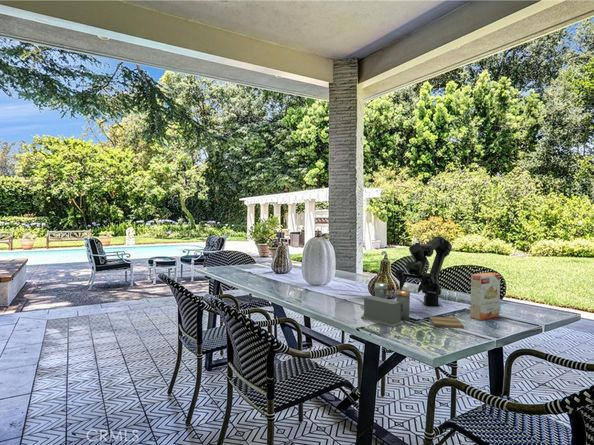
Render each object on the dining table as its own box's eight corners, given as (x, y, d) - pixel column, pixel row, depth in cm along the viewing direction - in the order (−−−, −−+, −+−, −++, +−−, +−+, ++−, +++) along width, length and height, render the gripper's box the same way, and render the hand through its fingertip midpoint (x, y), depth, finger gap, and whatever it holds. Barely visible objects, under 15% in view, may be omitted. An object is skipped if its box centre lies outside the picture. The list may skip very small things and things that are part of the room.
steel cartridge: (385, 307, 196) (385, 282, 196) (388, 310, 190) (388, 285, 190) (373, 307, 196) (373, 282, 196) (376, 310, 190) (376, 285, 189)
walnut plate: (429, 318, 175) (429, 316, 175) (456, 320, 173) (456, 317, 173) (434, 326, 163) (434, 324, 163) (463, 328, 161) (463, 325, 161)
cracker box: (480, 321, 172) (481, 276, 171) (469, 317, 177) (470, 274, 176) (500, 317, 178) (501, 273, 177) (488, 313, 183) (489, 271, 183)
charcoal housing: (371, 315, 181) (371, 295, 181) (403, 323, 168) (403, 302, 167) (361, 318, 176) (361, 297, 176) (393, 327, 162) (393, 305, 162)
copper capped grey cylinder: (407, 316, 179) (407, 289, 179) (411, 320, 173) (411, 292, 172) (394, 316, 179) (394, 289, 178) (398, 320, 173) (398, 292, 172)
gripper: (396, 253, 190) (385, 278, 182) (432, 256, 177) (422, 283, 169) (403, 267, 196) (393, 291, 188) (439, 271, 183) (429, 297, 175)
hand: (408, 290), depth 180 cm, fingers open, 9 cm apart
